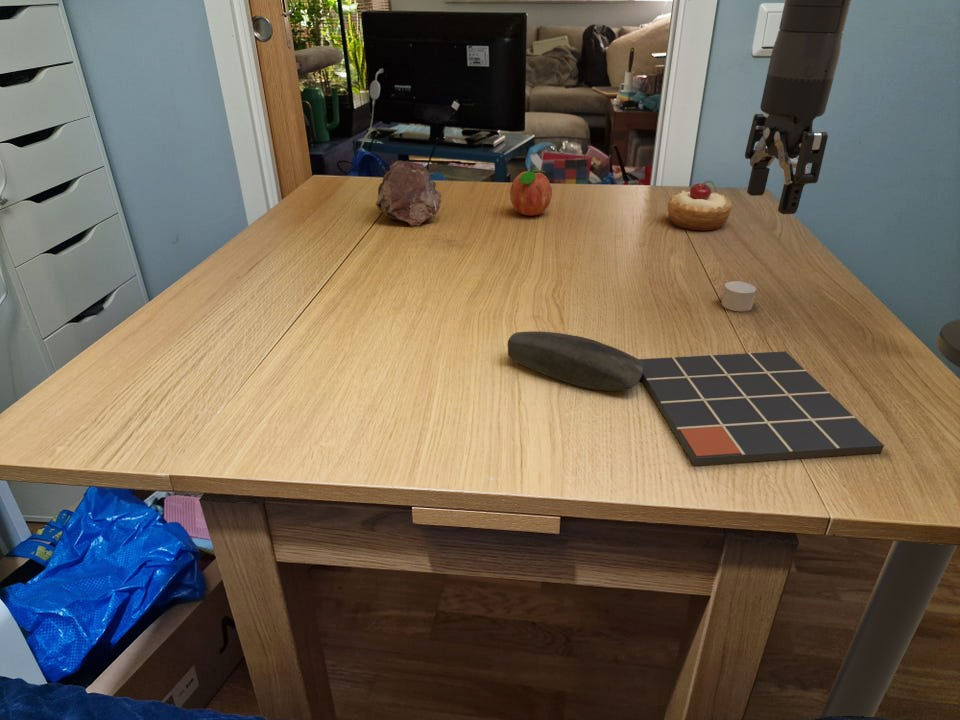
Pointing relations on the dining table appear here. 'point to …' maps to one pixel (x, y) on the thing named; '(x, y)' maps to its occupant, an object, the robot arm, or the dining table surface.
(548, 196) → the fruit
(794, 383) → the board
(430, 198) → the mineral specimen
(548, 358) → the dark glasses case
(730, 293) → the white short cylinder
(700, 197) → the pastry
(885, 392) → the dining table surface
